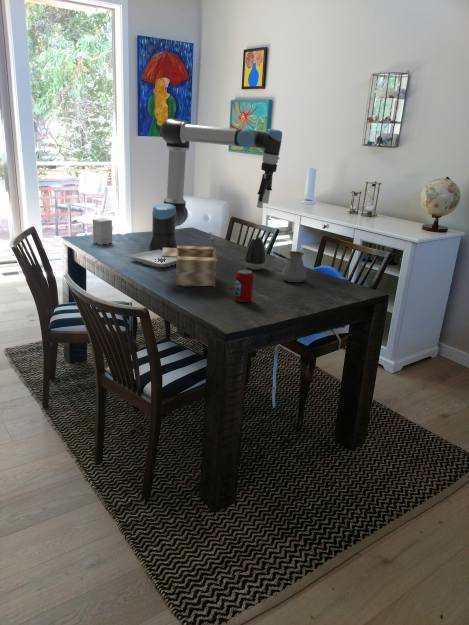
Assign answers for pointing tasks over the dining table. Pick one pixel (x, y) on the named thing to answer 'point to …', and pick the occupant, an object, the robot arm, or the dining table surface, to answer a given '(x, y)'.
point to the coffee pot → (293, 267)
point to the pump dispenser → (255, 254)
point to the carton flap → (213, 244)
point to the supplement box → (102, 231)
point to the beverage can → (243, 285)
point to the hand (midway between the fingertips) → (262, 205)
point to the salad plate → (152, 255)
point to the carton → (193, 265)
